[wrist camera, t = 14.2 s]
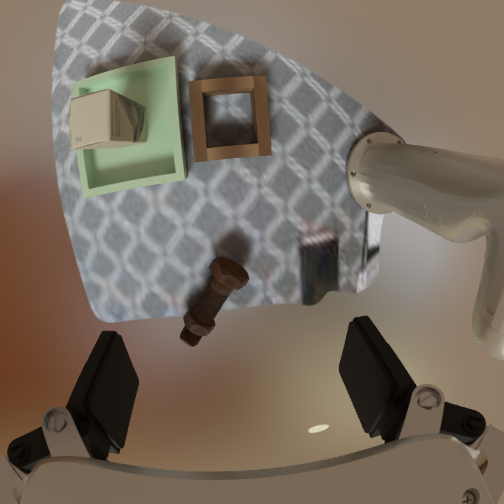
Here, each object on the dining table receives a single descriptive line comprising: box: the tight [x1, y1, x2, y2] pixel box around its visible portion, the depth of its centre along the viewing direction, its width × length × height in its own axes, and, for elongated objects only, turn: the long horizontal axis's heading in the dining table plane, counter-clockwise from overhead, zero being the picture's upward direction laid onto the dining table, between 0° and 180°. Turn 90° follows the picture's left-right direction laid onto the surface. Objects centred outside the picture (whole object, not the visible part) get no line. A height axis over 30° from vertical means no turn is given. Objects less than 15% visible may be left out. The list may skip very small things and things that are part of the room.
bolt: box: [180, 257, 249, 346], centre depth 40 cm, size 6×5×15 cm
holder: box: [188, 76, 272, 162], centre depth 30 cm, size 9×10×4 cm
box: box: [69, 89, 147, 150], centre depth 24 cm, size 5×4×13 cm
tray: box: [73, 56, 188, 198], centre depth 29 cm, size 14×16×3 cm
